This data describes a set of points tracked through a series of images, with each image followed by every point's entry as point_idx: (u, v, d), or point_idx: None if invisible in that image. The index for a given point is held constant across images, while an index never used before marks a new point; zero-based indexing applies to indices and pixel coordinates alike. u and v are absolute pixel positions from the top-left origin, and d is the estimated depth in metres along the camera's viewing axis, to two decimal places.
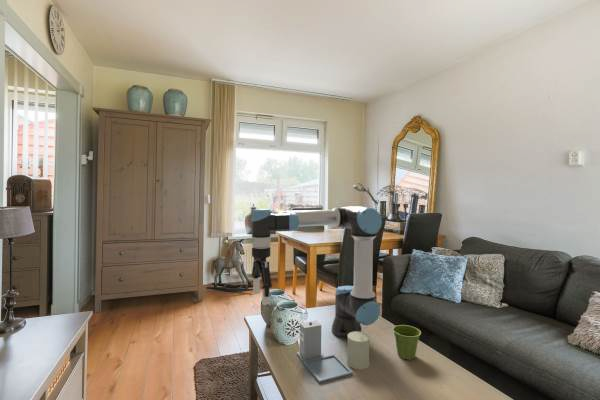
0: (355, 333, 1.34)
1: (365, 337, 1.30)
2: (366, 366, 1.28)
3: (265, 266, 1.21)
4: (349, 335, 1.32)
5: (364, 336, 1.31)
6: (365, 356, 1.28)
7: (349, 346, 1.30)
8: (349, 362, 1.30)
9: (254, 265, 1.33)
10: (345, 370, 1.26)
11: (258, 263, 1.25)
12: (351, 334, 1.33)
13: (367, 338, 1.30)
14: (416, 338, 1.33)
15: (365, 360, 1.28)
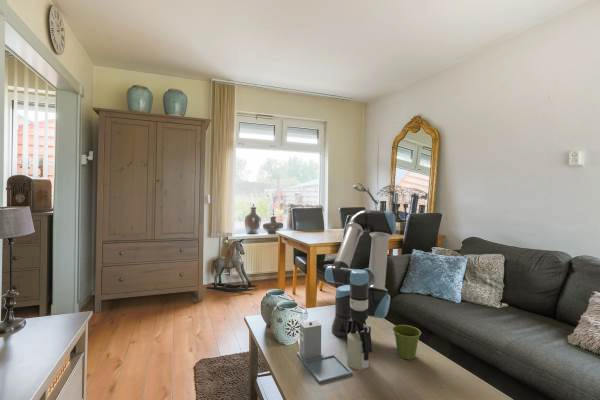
0: (355, 333, 1.34)
1: None
2: None
3: (367, 331, 1.25)
4: (349, 335, 1.32)
5: None
6: None
7: (349, 346, 1.30)
8: (349, 362, 1.30)
9: (349, 325, 1.36)
10: (345, 370, 1.26)
11: (357, 325, 1.29)
12: (351, 334, 1.33)
13: None
14: (416, 338, 1.33)
15: None
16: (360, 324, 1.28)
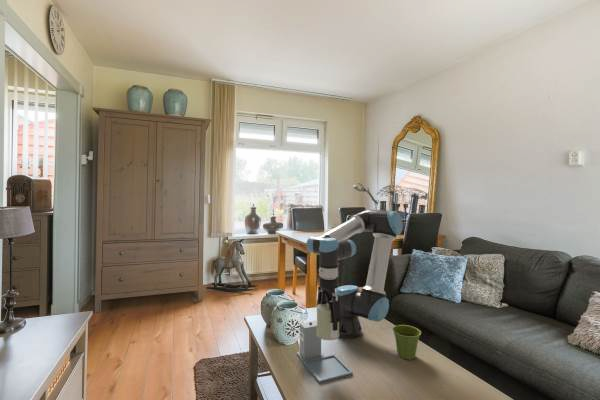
0: (325, 304, 1.29)
1: None
2: None
3: (336, 300, 1.20)
4: (319, 306, 1.27)
5: None
6: None
7: (318, 316, 1.24)
8: (318, 333, 1.25)
9: (319, 297, 1.31)
10: (345, 370, 1.26)
11: (326, 294, 1.24)
12: (321, 305, 1.28)
13: None
14: (416, 338, 1.33)
15: None
16: (329, 293, 1.23)
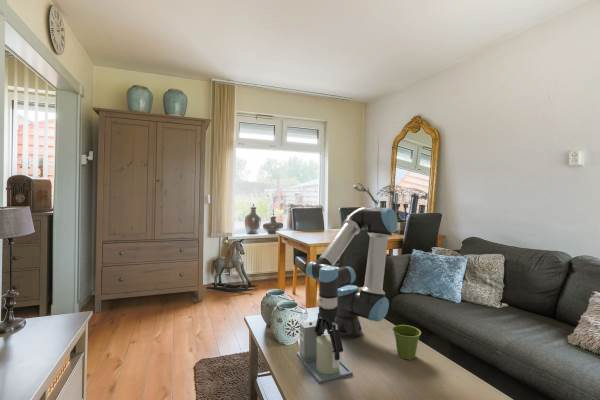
0: (325, 337, 1.29)
1: None
2: (335, 371, 1.24)
3: (336, 329, 1.20)
4: (318, 339, 1.28)
5: None
6: None
7: (318, 350, 1.25)
8: (318, 367, 1.25)
9: (318, 322, 1.32)
10: (345, 370, 1.26)
11: (326, 323, 1.24)
12: (321, 338, 1.28)
13: None
14: (416, 338, 1.33)
15: None
16: (329, 323, 1.23)
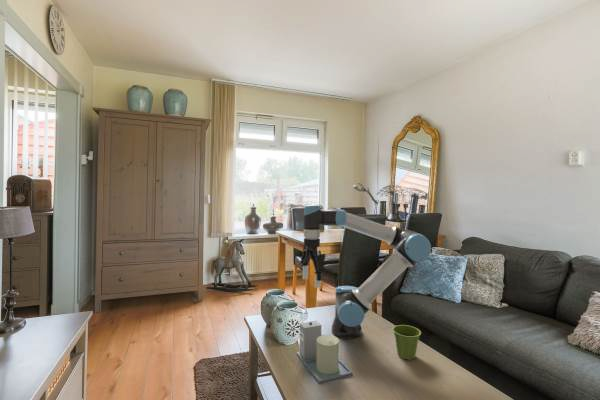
0: (325, 336, 1.29)
1: (334, 341, 1.26)
2: (335, 371, 1.24)
3: (317, 254, 1.41)
4: (318, 339, 1.28)
5: (334, 340, 1.27)
6: (334, 361, 1.23)
7: (318, 350, 1.25)
8: (318, 367, 1.25)
9: (303, 254, 1.53)
10: (345, 370, 1.26)
11: (310, 252, 1.45)
12: (321, 338, 1.28)
13: (336, 342, 1.25)
14: (416, 338, 1.33)
15: (334, 365, 1.23)
16: (312, 251, 1.44)
